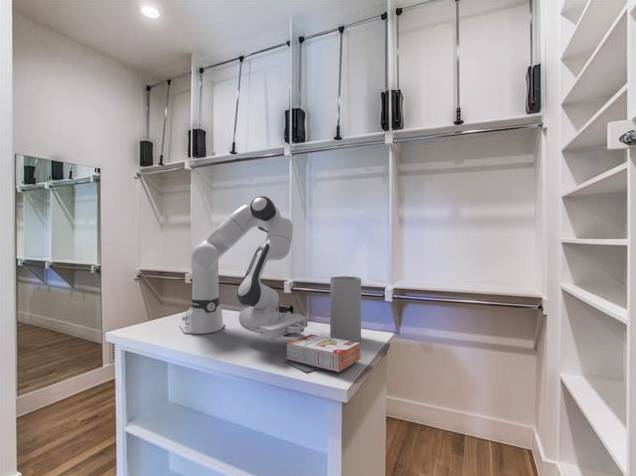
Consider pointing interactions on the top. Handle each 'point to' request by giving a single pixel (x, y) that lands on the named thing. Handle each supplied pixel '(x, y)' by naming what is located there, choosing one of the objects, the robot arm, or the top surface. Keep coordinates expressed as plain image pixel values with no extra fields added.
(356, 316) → the cylinder vase
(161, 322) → the top surface
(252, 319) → the robot arm
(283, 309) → the phone stand
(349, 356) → the cracker box
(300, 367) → the mat
